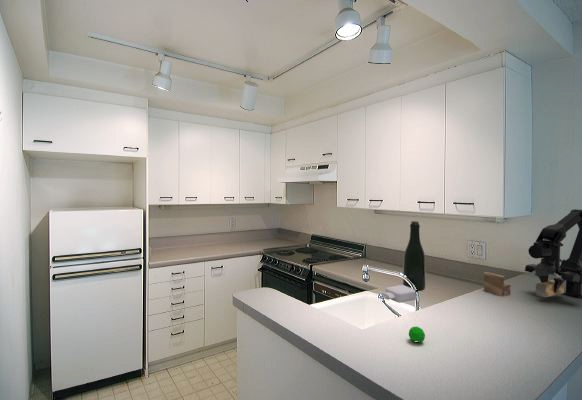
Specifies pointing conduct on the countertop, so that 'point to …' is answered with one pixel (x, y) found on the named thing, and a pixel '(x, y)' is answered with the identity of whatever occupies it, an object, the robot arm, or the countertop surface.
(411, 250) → the dark wine bottle
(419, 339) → the green ball
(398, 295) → the charger
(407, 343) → the countertop surface
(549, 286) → the oak rail
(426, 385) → the countertop surface
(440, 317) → the countertop surface
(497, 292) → the notched wooden block
